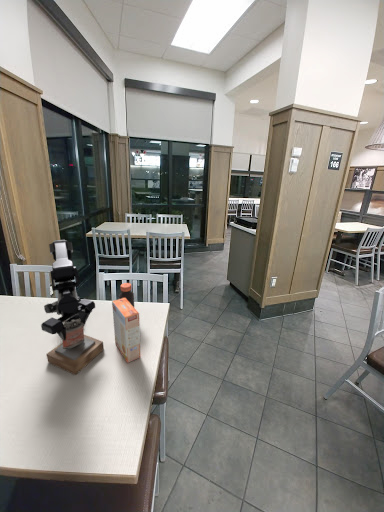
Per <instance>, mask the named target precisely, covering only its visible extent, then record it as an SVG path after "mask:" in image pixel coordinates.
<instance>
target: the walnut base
mask: <svg viewBox="0 0 384 512" xmlns="http://www.w3.org/2000/svg"><path fill="white" fill-rule="evenodd" d="M84 338H85V341H84V342H82V343H81V344H79V345H77V346H75V347H72V348H69V349H66V350H64V349H63V347H62V346H63V341H62V342H61V343H60V344H59V345H57V346H56V347H54V348H52V349H51V350H50V351H48V352H47V353H46V359H47V362H48V364H51V365H53V366H54V367H55V366H56V367H57V368H59V369H62V370H64V371H66V372H68V373H70V374H72V375H74V376H76V375H77V374H78V373H79V372H81V371H82V370H83V369H84V368H86V366H87V365H88V364H89V363H90V362H92V361H93V360H94V359H95V358H96V357H97V356H98V355H99V354H100V353H102V351H104V350H105V349H104V342H103V341H102V340H100V339H98V338H94V337H92V336H89V335H86V334H84Z"/></svg>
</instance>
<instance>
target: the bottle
mask: <svg viewBox="0 0 384 512" xmlns="http://www.w3.org/2000/svg"><path fill="white" fill-rule="evenodd" d="M132 289H133V288H132V284H131V283H130V282H125V283H124V282H123V283H121V285H120V293H119V295H118V299H122V298H126V299H127V300H128V301H129V302H130V304H131V305H132V306H133V307H134V308H135V293H134V292H133V291H132Z"/></svg>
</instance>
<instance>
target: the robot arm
mask: <svg viewBox="0 0 384 512" xmlns="http://www.w3.org/2000/svg"><path fill="white" fill-rule="evenodd" d="M48 247H49V253H50V255H52V257H53V260H54V262H52V265H51V266H52V269H50V270H49V271H50V280H51V289H52V291H56V292H57V300H56V301H53V302H52V303H47V304H44V306H43V307H44V308H43V309H44V312H45V313H46V314H53V313H56V315H58V316H60V315H61V316H60V317H58V318H54V317H50V318H49V319H46V320H45V321H43V322H42V323H41V324H40V327H41V330H42V331H43V332H46V333H49V335H50V334H51V335H56V334H57V335H58V336H59V337H60V339H61V340H62V341H63V340H64V341H65V340H66V327H64V324H65V322H66V323H68V322H71V320H77V319H80V322H83V323H84V326H83V328H84V327H85V325H86V323H87V321H88V319H89V317H90V315H91V313H92V312H93V310H94V309H96V303H95V301H94V300H91V299H87V298H83V299H81V297H80V296H78V292H77V288H76V287H80V286H79V283H80V282H81V281H80V280H81V279H80V273H79V269H78V268H77V266H74V263H73V261H72V260H71V259H72V257H73V256H72V253H73V252H74V250H73V243H72V241H71V242H70V241H68V240H65V239H58V240H54V241H52V242H51V243H49V244H48ZM74 280H75V281H74Z"/></svg>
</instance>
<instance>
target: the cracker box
mask: <svg viewBox="0 0 384 512" xmlns="http://www.w3.org/2000/svg"><path fill="white" fill-rule="evenodd" d="M111 305H112V317H113V331H114V341H115V345H116V346H117V348H118V350H119V351H120V354H121V355H122V357H123V358H124V360H125V361H126V363H127V364H128V363H131V362H133V361H135V360H137V359H139V358H141V335H140V334H141V331H140V313H139V311H138V310H137V308H135V306H134V307H133V306H132V305H131V304H130V302H129V301H128V300H127V299H126V298H122V299H119V298H118V299H115V300H112V301H111Z"/></svg>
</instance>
